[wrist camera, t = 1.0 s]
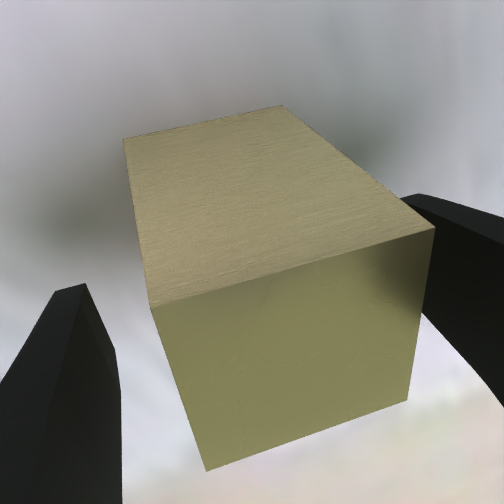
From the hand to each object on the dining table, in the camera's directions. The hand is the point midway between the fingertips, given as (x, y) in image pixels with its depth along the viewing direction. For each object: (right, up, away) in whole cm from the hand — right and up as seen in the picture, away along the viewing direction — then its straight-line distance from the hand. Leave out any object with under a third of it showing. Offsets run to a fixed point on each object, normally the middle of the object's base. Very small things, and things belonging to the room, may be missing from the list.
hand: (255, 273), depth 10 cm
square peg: (-1, +2, +3) cm, 4 cm away
